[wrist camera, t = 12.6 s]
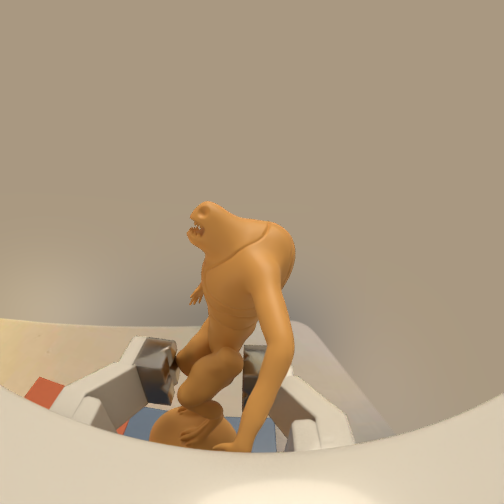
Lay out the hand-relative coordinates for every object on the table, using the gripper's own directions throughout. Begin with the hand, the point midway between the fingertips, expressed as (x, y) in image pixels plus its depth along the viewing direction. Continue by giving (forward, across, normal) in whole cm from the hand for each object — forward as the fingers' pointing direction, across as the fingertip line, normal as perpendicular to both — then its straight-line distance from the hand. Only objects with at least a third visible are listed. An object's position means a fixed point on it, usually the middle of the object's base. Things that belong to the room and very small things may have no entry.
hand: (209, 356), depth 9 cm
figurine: (-1, 0, +7) cm, 7 cm away
